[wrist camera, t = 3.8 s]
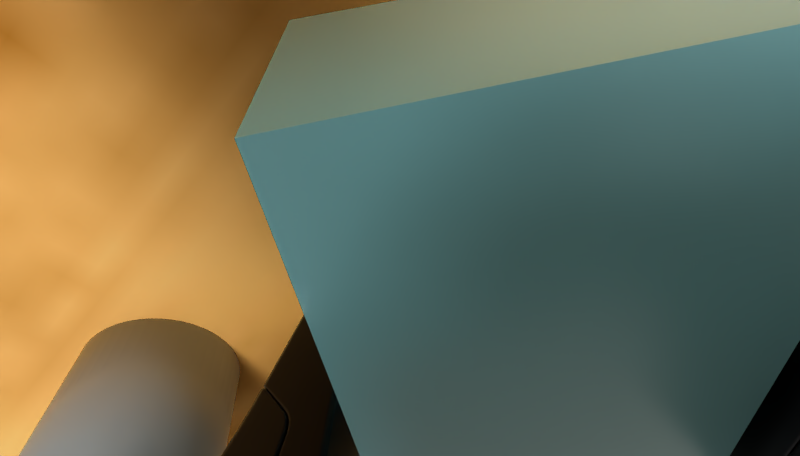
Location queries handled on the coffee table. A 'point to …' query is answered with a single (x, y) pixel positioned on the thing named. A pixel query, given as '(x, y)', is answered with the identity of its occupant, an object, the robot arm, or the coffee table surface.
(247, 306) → the coffee table surface
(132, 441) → the grey cylinder
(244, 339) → the coffee table surface
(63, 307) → the coffee table surface
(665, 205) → the teal long brick
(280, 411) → the robot arm
